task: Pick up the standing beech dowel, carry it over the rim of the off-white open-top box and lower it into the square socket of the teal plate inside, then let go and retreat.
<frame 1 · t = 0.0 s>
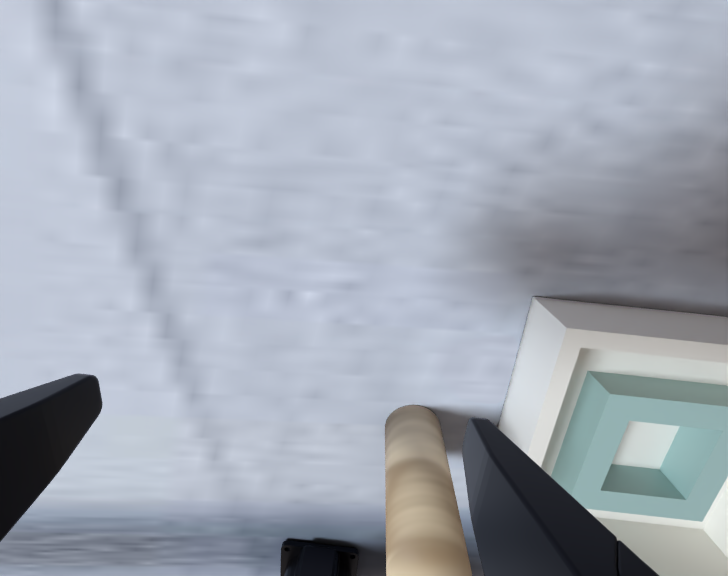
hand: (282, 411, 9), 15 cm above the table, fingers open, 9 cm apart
dowel: (412, 428, 27), on the table
box: (628, 428, 26), on the table
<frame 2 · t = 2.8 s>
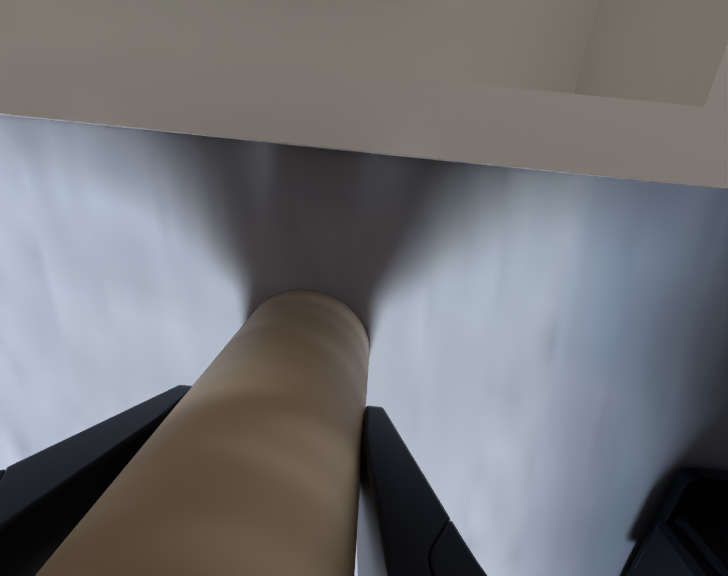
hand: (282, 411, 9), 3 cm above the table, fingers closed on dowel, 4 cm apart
dowel: (306, 348, 12), on the table, touching gripper
when the fingers open (5 cm above the table, at t = 6.9 s): dowel drops 1 cm, resting on box.
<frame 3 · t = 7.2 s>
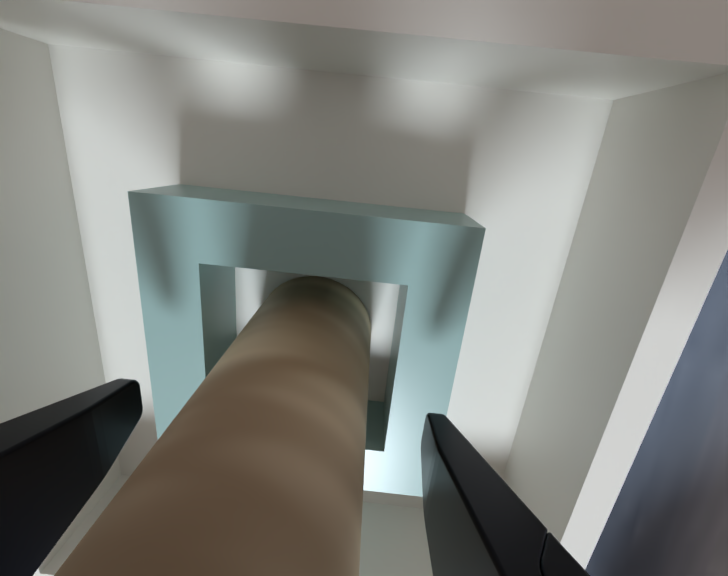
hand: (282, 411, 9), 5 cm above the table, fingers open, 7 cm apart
dowel: (314, 329, 13), point 1 cm above the table, touching box
box: (316, 321, 14), on the table
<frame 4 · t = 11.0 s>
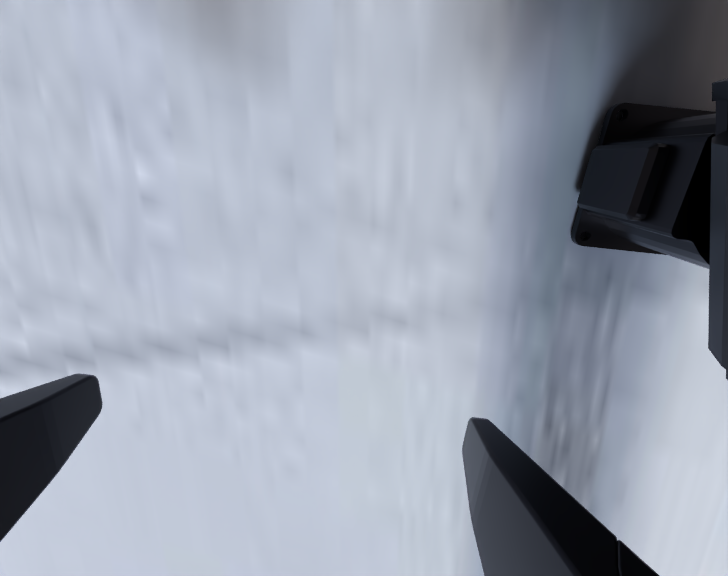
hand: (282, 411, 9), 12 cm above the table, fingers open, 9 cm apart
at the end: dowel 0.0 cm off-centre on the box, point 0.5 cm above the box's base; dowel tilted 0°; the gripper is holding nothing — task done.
